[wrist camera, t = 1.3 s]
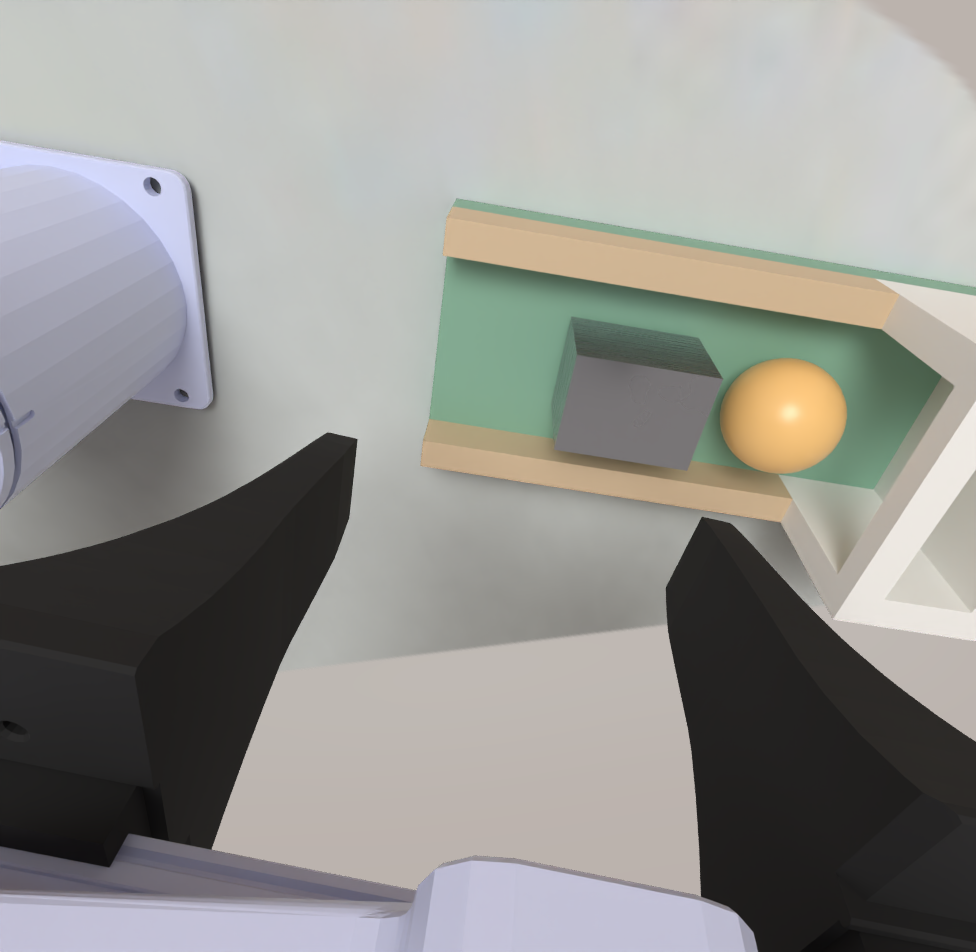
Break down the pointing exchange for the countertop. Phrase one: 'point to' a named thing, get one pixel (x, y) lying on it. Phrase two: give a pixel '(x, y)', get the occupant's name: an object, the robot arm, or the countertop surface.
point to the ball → (783, 415)
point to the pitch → (733, 349)
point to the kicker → (632, 394)
